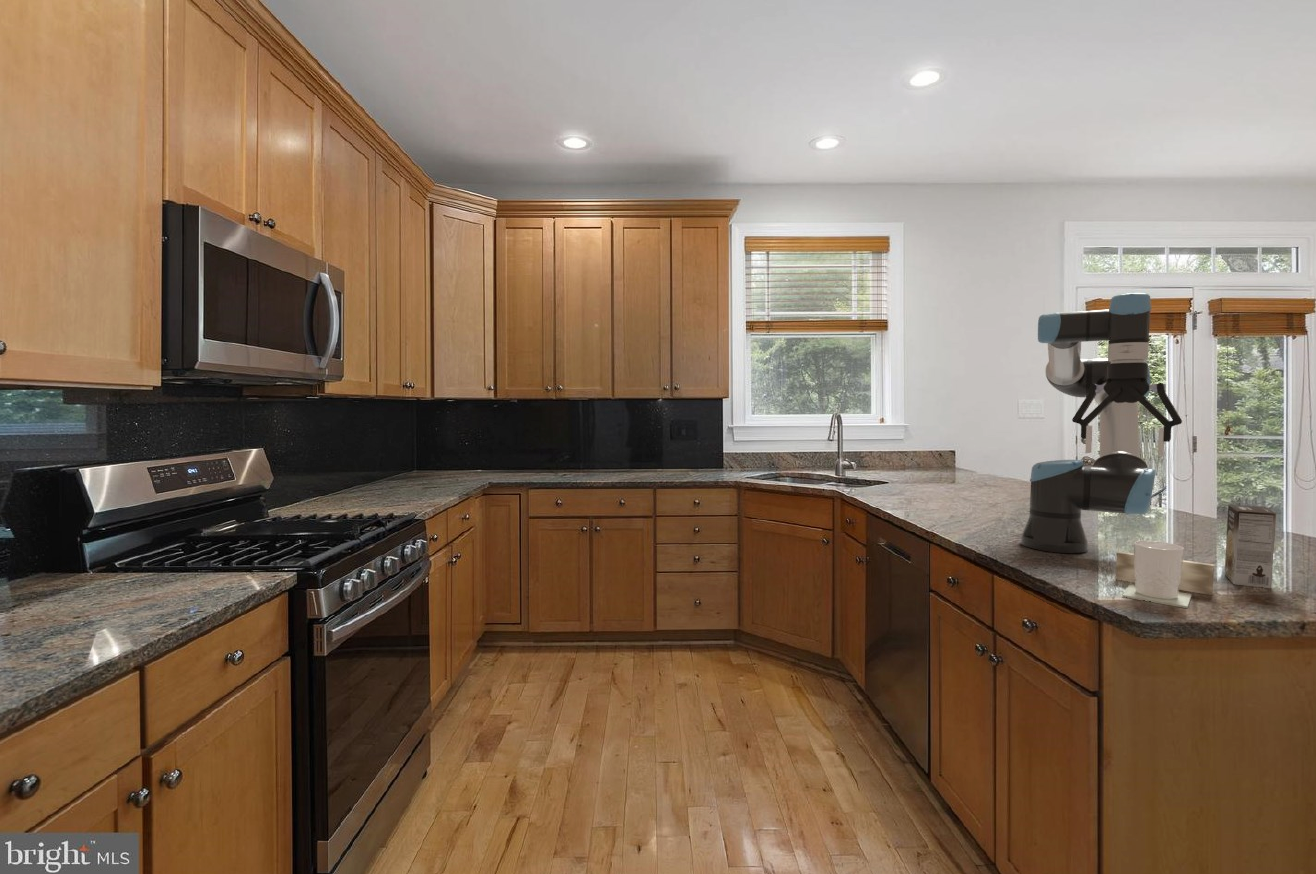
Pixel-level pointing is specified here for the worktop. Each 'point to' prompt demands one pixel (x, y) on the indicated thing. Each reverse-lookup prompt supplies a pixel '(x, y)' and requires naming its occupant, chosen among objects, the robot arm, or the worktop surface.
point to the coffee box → (1250, 545)
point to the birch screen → (1192, 575)
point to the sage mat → (1180, 601)
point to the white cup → (1157, 569)
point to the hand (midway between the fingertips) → (1123, 454)
